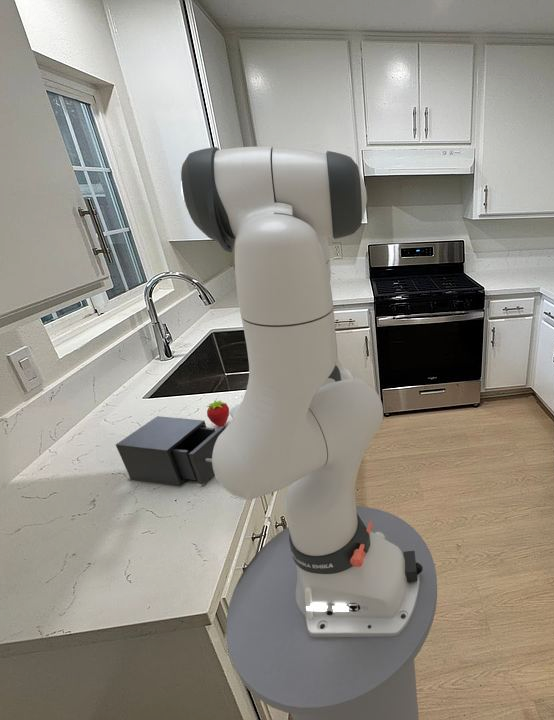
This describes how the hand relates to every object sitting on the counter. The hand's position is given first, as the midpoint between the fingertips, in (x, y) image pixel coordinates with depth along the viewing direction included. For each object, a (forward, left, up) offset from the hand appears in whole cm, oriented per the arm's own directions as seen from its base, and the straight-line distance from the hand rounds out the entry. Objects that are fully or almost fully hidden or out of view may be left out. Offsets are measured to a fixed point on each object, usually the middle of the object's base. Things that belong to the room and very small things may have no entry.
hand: (230, 460), depth 78 cm
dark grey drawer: (+21, -12, -14) cm, 28 cm away
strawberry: (+29, -30, -15) cm, 44 cm away
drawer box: (+30, -12, -15) cm, 35 cm away
